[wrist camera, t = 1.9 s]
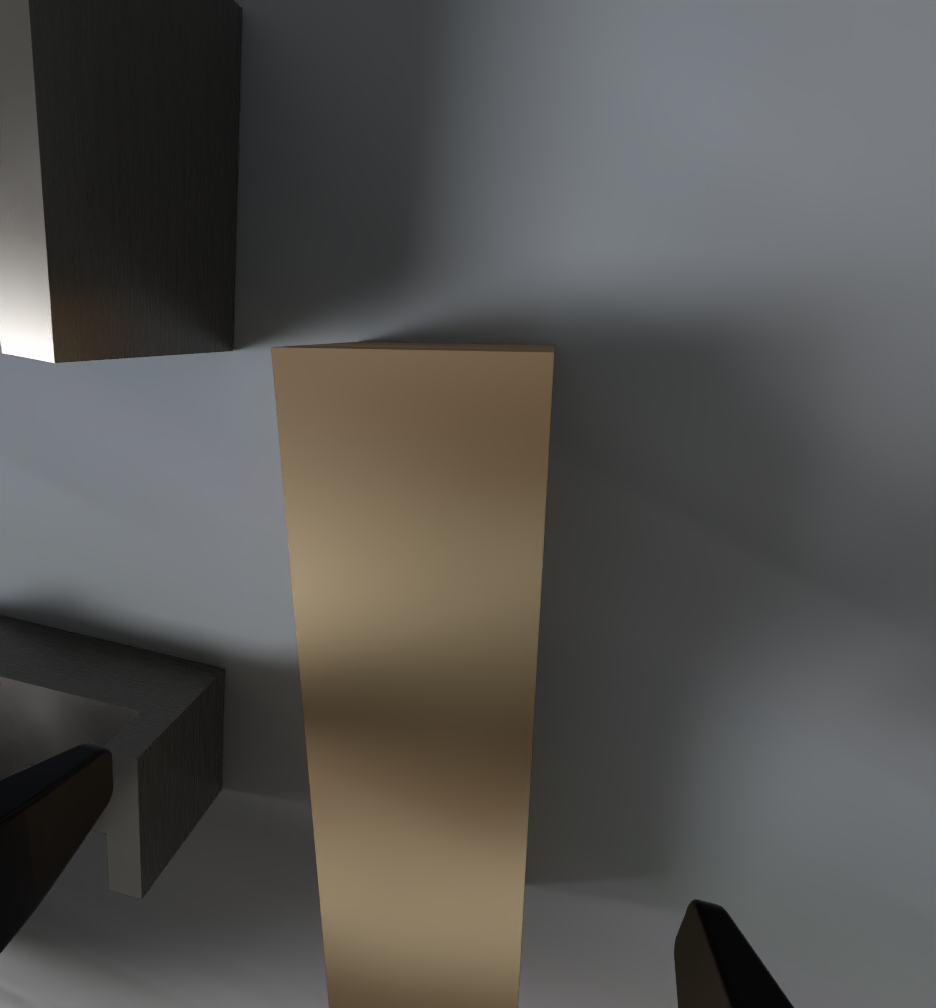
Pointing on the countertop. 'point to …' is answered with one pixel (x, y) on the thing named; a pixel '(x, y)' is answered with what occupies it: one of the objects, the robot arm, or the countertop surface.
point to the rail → (417, 653)
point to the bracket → (118, 177)
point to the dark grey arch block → (117, 735)
